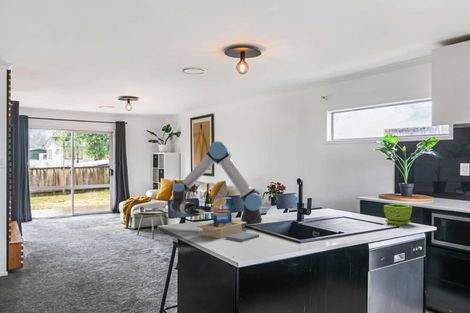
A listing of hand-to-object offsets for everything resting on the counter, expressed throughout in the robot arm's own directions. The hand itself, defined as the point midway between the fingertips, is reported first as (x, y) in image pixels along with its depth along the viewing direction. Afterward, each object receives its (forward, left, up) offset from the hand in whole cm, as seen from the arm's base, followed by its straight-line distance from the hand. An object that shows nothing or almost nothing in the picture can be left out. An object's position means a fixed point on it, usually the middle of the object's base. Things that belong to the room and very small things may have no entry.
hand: (211, 211), depth 221 cm
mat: (0, +26, -13) cm, 29 cm away
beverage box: (0, +10, -13) cm, 16 cm away
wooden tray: (0, +10, -13) cm, 16 cm away
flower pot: (-104, +81, -13) cm, 132 cm away
